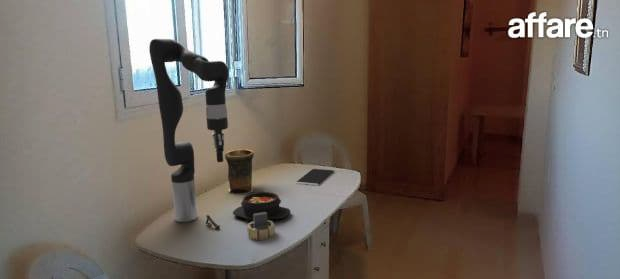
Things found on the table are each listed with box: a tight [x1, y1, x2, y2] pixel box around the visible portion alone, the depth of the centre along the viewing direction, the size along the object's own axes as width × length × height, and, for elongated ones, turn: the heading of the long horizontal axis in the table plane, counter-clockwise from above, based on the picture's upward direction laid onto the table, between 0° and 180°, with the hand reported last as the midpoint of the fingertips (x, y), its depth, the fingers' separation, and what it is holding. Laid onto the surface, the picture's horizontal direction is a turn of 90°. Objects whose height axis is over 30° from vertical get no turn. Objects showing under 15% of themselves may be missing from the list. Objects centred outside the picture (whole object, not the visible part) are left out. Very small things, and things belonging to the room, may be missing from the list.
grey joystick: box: [252, 212, 269, 229], centre depth 167 cm, size 6×6×6 cm
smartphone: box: [295, 168, 335, 187], centre depth 240 cm, size 13×27×2 cm, turn 159°
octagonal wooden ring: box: [246, 219, 276, 241], centre depth 168 cm, size 10×10×4 cm
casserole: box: [232, 191, 291, 221], centre depth 186 cm, size 25×19×8 cm
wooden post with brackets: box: [205, 214, 221, 230], centre depth 177 cm, size 2×8×4 cm, turn 48°
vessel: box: [224, 148, 255, 196], centre depth 220 cm, size 14×14×20 cm
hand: (220, 161), depth 164 cm, fingers closed
